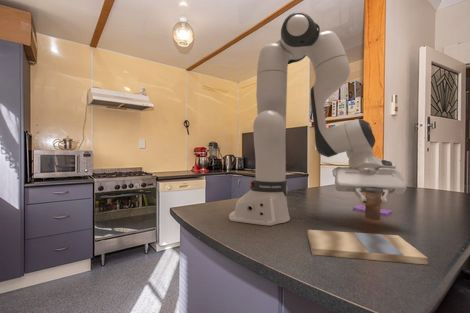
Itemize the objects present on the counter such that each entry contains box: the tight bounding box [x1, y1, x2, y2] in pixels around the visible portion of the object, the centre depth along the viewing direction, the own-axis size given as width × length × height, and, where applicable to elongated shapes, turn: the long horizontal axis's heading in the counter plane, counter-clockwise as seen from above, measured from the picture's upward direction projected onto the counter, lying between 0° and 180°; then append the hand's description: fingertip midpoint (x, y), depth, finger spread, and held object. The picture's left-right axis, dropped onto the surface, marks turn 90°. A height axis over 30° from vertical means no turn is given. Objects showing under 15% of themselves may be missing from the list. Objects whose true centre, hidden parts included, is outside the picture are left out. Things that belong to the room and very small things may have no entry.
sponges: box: [352, 204, 393, 217], centre depth 96 cm, size 7×13×2 cm, turn 40°
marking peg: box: [364, 188, 382, 221], centre depth 71 cm, size 4×4×9 cm
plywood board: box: [307, 229, 429, 265], centre depth 61 cm, size 24×14×2 cm, turn 77°
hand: (373, 202), depth 71 cm, fingers closed on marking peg, 4 cm apart
